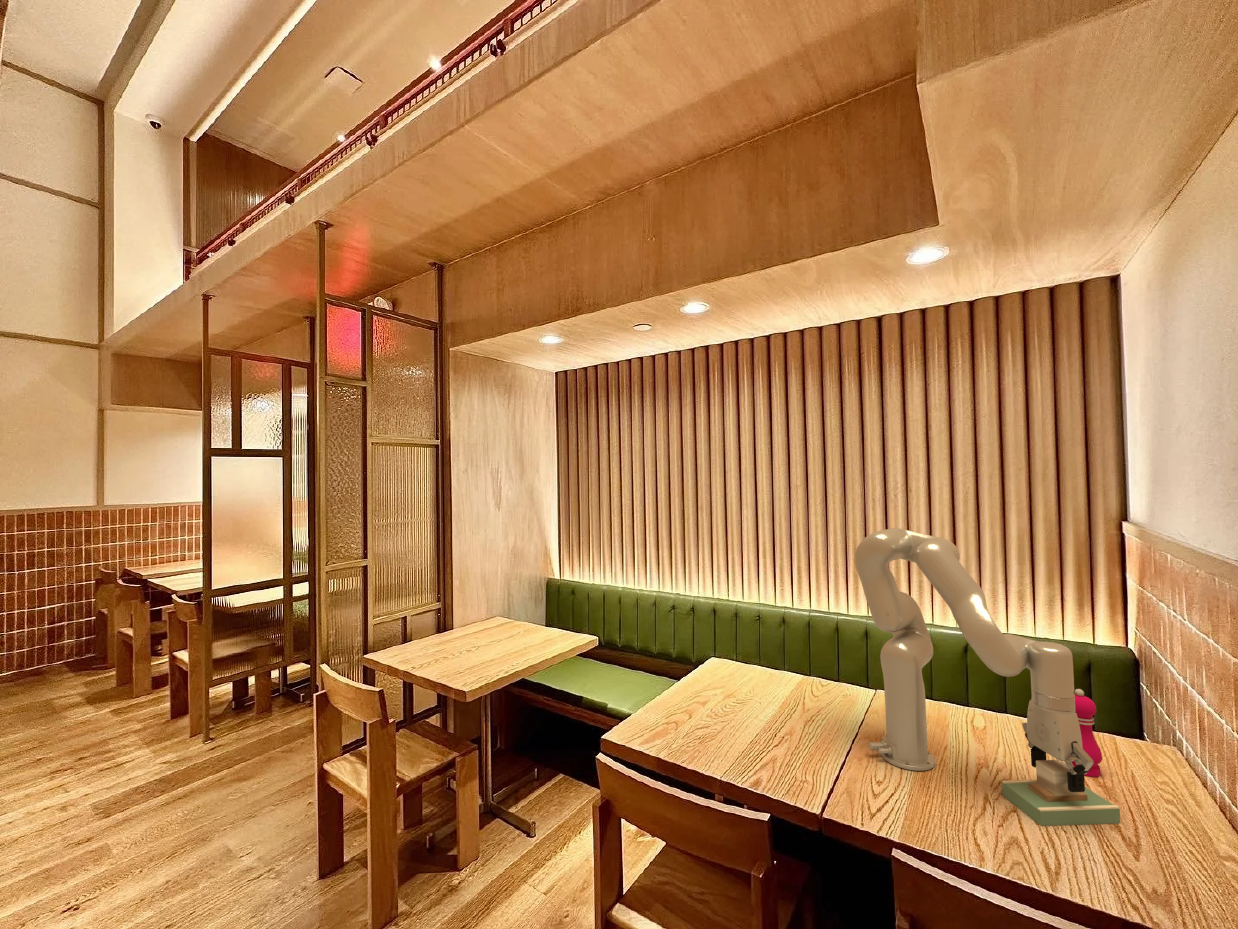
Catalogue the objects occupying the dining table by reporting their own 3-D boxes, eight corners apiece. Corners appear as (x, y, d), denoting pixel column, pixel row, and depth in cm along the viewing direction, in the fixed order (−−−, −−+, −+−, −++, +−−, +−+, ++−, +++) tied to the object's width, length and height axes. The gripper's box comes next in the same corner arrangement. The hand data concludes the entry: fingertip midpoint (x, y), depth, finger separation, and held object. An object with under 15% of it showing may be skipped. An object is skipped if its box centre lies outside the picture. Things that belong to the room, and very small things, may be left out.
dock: (1041, 826, 111) (1040, 810, 111) (1002, 795, 122) (1001, 780, 122) (1120, 823, 111) (1119, 807, 111) (1074, 792, 122) (1073, 778, 122)
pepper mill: (1057, 763, 135) (1052, 684, 135) (1083, 762, 135) (1078, 683, 136) (1084, 779, 128) (1079, 695, 128) (1111, 777, 128) (1106, 694, 129)
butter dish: (1047, 802, 114) (1045, 773, 114) (1028, 788, 119) (1027, 760, 119) (1087, 800, 114) (1085, 771, 115) (1067, 787, 119) (1065, 759, 120)
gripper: (1007, 686, 126) (1010, 759, 125) (1070, 718, 109) (1074, 802, 108) (1037, 685, 126) (1041, 758, 126) (1106, 717, 109) (1110, 801, 108)
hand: (1057, 778), depth 117 cm, fingers open, 9 cm apart
